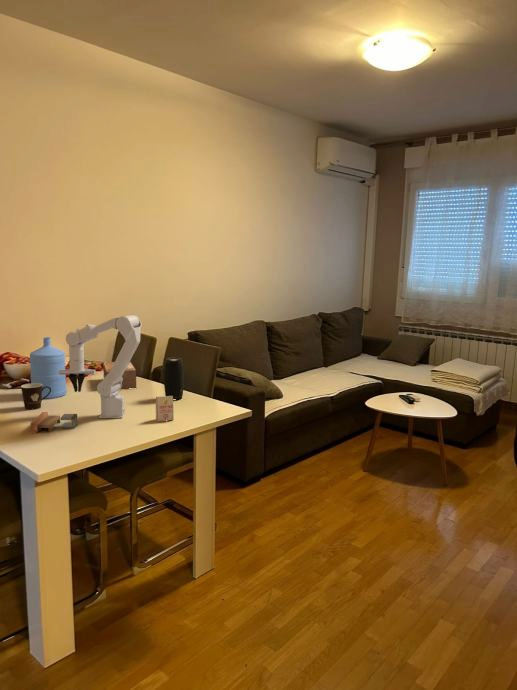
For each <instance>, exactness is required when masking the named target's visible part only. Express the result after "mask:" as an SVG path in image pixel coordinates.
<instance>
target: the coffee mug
mask: <svg viewBox="0 0 517 690" xmlns="http://www.w3.org/2000/svg"><path fill="white" fill-rule="evenodd" d="M42 386H43V385H42V384H38V383H32V384H31V383H25V384H22V385H21V386H20V388H21V389H20V390H21V395H22V400H23V404H24V410H26V411H27V410H28V411H34V410H39V409H41V408H42V401H43V400H45V399H44V398H46V397H47V396H48V395H49V394H50V392H51V388H50V387H48V386H45V387H43V388H42ZM44 388H49V389H50V392H49V393H48V394H47V395H46V396H45V397H43V398H42V391H43V389H44Z"/></svg>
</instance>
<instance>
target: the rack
mask: <svg viewBox="0 0 517 690" xmlns="http://www.w3.org/2000/svg"><path fill="white" fill-rule="evenodd" d="M56 423H57V424H60V423H61V415H49V414H48V411H42V412H41V413H40V414H38V416H36V417H35V418H34V419H33V420H32V421H31V422H30V434H38V433H39V431H41V429H42V428H45V429H48V432H49V433H52V432H53V427H54V426H55V424H56Z"/></svg>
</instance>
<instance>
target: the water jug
mask: <svg viewBox="0 0 517 690" xmlns="http://www.w3.org/2000/svg"><path fill="white" fill-rule="evenodd" d="M42 344H43V346H41V347H40V348H38V349H35V350H34V351H31V352H30V353H29V366H30V382H31V383H30V384H32V383H38V384H42V385H43V386H42V388H43V387H45V386H48V387H50V388H51V392H50V389H49V388H44V389H43V391H42V398H43V397H45V396H46V395H47V394H48V393H49V392H50V394H49V395H48V396H47V397H46V398H44V399H43V400H45V399H46V400H47V399H48V400H49V399H50V398H51V399H57V397H58V398H61V397H63V396H66V394H67V392H68V391H67V382H66V381H67V380H66V379H67V377H66V376H67V375H59V370H66V354H65V353H66V352H65V351H64V350H61V349H59V348H56V347H54V346H52V345H51V337H49V336H47V337H46V336H45V337H43V343H42Z"/></svg>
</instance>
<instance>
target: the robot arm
mask: <svg viewBox="0 0 517 690" xmlns="http://www.w3.org/2000/svg"><path fill="white" fill-rule="evenodd" d="M142 326H143V324H142V321H141V319H140V318H139V316H138V315H136V314H128V315H125V316H123V315H122V316H119V317H114V318H111V319H108V320H106V321H104V322H101V323H100V324H97V325H95V324H90V323H89V324H86V325H85V327H82V328H80V327H79V328H76V331H69V333H67V334H66V335H65V341H66V343H67V345H68V353H69V354H68V358H69V369H66V368H65V370H59V375H66V376H67V375H68V379H69V381H70V383H71V384H72V386H73V390H74V391H73V392H74V393H77V392H78V393H80V392H81V391H82V386H83V383H84V381H85V379H86V378H85V377H86V375H87V376H88V375H91V376H95V375H96V369H88V368H85V353H84V347H85V343H86V342H90V341H91V340H94V339H97V338H98V337H99V335H100V334H101V333H103V332H106V331H109V330H111V329H112V330H113V329H114V330H118V332H119V333H120V334H121V335H122V336H123V338H124V343H123V345H122V347H121V349H120V351H119V352H118V355H117V356H116V359H115V361H113V362H114V364H113V366H112V368H111V370H110V372H109V373H108V374H107V375H106V376H105V377H104V376H103V379H102V380H101V381H100V382H99V383H98V384H97V386H96V390H97V393H98V394H99V397H100V415H99V416H98V419H123V417H124V415H125V414H126V411H125V410H126V409H125V408H126V406H125V395H123V394H120V389H121V383H122V380H123V378H122V375H123V373H124V371H125V370H126V368H127V366H128V364H129V362H131V361H132V358H133V356H134V355H135V353H136V351H137V348H138V347H139V344H140V343H141V329H142Z"/></svg>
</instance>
